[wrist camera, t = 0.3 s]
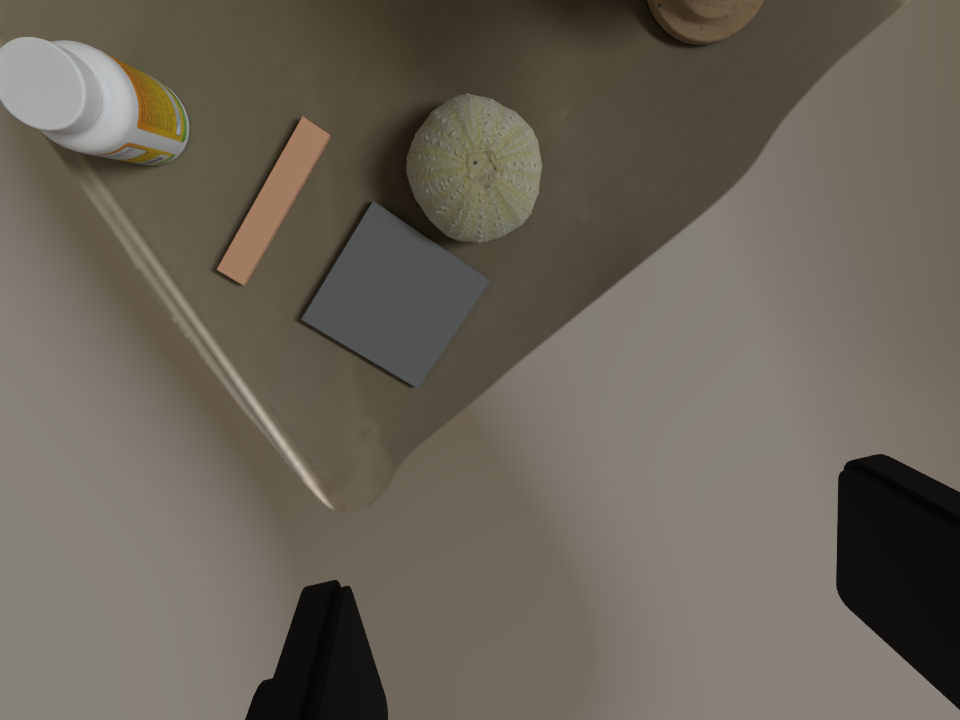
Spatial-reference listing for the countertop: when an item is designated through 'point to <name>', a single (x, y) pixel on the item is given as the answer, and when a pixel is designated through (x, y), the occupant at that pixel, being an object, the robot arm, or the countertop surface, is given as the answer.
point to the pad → (395, 296)
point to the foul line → (274, 201)
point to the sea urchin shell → (475, 168)
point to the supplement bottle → (91, 101)
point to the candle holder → (703, 18)
